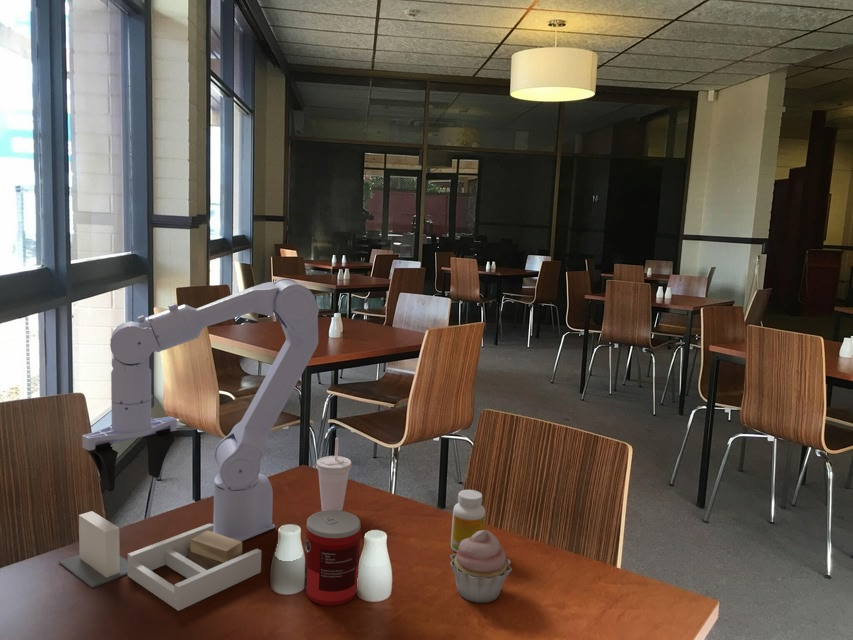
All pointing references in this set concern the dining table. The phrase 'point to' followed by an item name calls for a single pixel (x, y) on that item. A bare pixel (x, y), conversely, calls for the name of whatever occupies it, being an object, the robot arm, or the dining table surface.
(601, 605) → the dining table surface
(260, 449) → the robot arm
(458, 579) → the cupcake
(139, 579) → the rack
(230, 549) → the offcut top
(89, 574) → the mat
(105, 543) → the cream rectangular block
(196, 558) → the offcut low
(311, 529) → the canned food
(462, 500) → the supplement bottle
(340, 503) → the smoothie
